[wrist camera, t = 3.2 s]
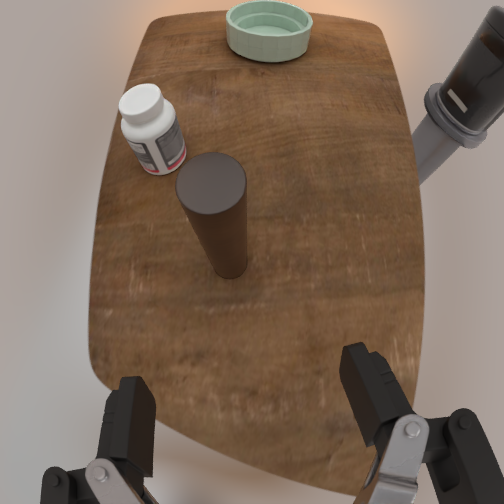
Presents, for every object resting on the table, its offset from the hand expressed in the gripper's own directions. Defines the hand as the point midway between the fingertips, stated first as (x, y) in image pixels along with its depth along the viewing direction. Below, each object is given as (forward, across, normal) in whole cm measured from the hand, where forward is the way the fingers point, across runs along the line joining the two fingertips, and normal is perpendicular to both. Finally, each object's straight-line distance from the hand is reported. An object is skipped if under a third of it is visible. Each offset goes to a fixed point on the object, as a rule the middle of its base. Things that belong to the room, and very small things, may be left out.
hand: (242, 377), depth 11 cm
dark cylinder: (+17, 0, +5) cm, 18 cm away
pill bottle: (+27, +6, -4) cm, 28 cm away
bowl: (+40, -10, -18) cm, 45 cm away
